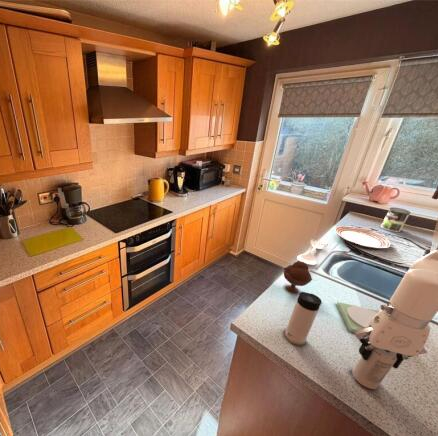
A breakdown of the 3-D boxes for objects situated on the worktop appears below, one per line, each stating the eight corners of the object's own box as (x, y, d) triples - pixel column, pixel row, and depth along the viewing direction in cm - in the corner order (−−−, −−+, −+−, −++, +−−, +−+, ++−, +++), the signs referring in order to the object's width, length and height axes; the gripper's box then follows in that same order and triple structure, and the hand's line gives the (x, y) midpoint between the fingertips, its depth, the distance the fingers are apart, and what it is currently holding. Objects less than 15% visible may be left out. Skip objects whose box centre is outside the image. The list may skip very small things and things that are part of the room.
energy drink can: (367, 371, 73) (388, 339, 66) (382, 392, 67) (406, 359, 61) (346, 368, 74) (365, 336, 67) (358, 388, 68) (380, 355, 62)
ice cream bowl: (274, 281, 112) (282, 255, 105) (299, 283, 110) (308, 257, 104) (283, 297, 102) (292, 269, 96) (310, 299, 101) (321, 272, 94)
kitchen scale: (389, 317, 92) (392, 312, 91) (411, 347, 80) (415, 342, 79) (336, 305, 98) (338, 300, 97) (349, 332, 86) (352, 327, 85)
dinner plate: (387, 239, 149) (390, 234, 147) (390, 257, 130) (392, 252, 129) (335, 226, 165) (336, 222, 164) (330, 240, 147) (332, 236, 145)
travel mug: (286, 343, 82) (302, 301, 73) (283, 328, 87) (297, 287, 79) (306, 349, 80) (325, 306, 71) (302, 333, 85) (319, 292, 77)
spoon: (327, 247, 139) (329, 242, 138) (312, 270, 119) (314, 264, 118) (310, 242, 145) (312, 237, 144) (293, 262, 125) (295, 257, 124)
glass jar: (391, 232, 157) (401, 213, 151) (376, 225, 166) (385, 207, 160) (405, 231, 158) (415, 212, 152) (389, 225, 167) (398, 207, 161)
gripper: (372, 316, 58) (346, 361, 66) (465, 336, 53) (425, 383, 61) (358, 295, 65) (336, 339, 72) (440, 312, 59) (407, 357, 67)
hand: (377, 359), depth 66 cm, fingers closed on energy drink can, 6 cm apart
